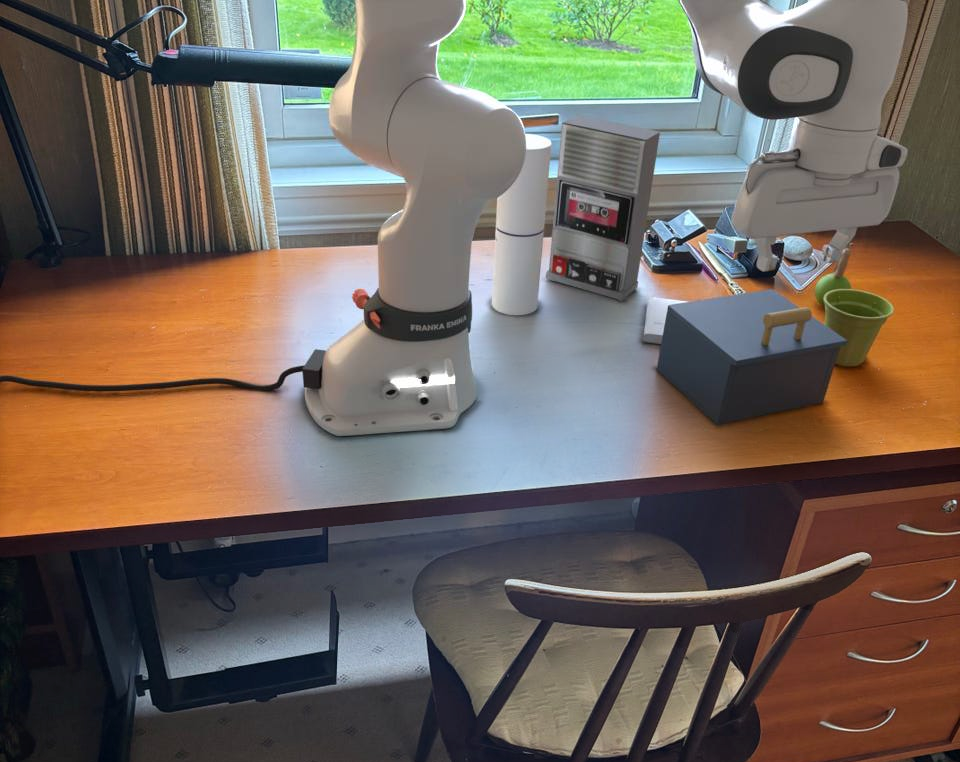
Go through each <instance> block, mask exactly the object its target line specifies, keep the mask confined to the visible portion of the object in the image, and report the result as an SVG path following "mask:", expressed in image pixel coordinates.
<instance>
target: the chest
mask: <svg viewBox="0 0 960 762" xmlns="http://www.w3.org/2000/svg"><path fill="white" fill-rule="evenodd" d="M839 351H840V347H837V348H832V349H826V350H821V351H816V352H810V353H805V354H799V355H794V356H789V357H783V358H778V359H772V360H767V361H762V362H756V363H751V364H746V365H740V366H734V365H733V364H732V363H730V362H729V361H728V360H727V359H725V358H724V357H723V356H722V355H721V354H719V353H718V352H717V351H716V350H715V349H713V348H712V347H711V346H710V345H709V344H707V343H706V342H705V341H704V340H703V339H701V338H700V337H699V336H698V335H696V334H695V333H694V332H693V331H692V330H690V329H689V328H688V327H687V326H686V325H684V324H683V323H682V322H681V321H680V320H678V319H677V318H676V317H675V316H674V315H672V314H671V313H670V312H669V311H667V314H666V320H665V325H664V331H663V336H662V342H661V344H660V348H659V353H658V359H657V363H656V370H657V371H658V372H659V373H660V374H661V375H662V376H663V377H664V378H666V379H667V381H669V382H670V383H671V384H672V385H673V386H674V387H675V388H676V389H677V390H679V391H680V392H681V393H682V394H683V395H684V396H685V397H686V398H687V399H688V400H689V401H690V402H692V403H693V405H694V406H696V407H697V408H698V409H699V410H700V411H701V412H702V413H704V415H706V416H707V417H708V419H710V420H711V421H712V422H713V423H714V424H715V425H723V424H728V423H733V422H737V421H742V420H747V419H752V418H756V417H762V416H766V415H771V414H775V413H780V412H784V411H785V412H786V411H791V410H794V409H800V408H804V407H809V406H814V405H819V404H823V403H824V401H825V398H826V395H827V392H828V390H829V389H828V388H829V385H830V382H831V379H832V376H833V372H834V370H835V366H836V360H837V357H838V354H839Z"/></svg>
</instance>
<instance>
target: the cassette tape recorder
mask: <svg viewBox="0 0 960 762" xmlns="http://www.w3.org/2000/svg"><path fill="white" fill-rule="evenodd" d="M560 131H561V133H560V143H559V153H558V154H559V155H558V165H557V177H556V187H555V199H554V207H553V208H554V211H553V221H552V231H551V244H550V254H549V265H548V270H547V271H546V272H545V279H546V280H549V281H551V282H557V283H560V284H564V285H567V286H571V287H575V288H578V289H581V290H584V291H588V292H592V293H595V294H598V295H602V296H606V297H609V298H613V299H617V300H618V301H620V302H621V301H624V300H625V299H626V298H627V297H629V296H630V295H631V294H632V293H633V292H634V291H635V290H637V288H638V286H639V281H638V278H639V272H640V265H641V259H642V253H643V245H644V240H645V233H646V227H647V219H648V213H649V207H650V200H651V195H652V188H653V181H654V176H655V175H654V174H655V168H656V162H657V154H658V148H659V143H660V136H661V131H658V130H653V129H648V128H644V127H639V126H634V125H629V124H624V123H620V122H614V121H610V120H604V119H601V118H600V119H599V118H595V117H589V116H585V115H580V114H577V115H575V116H572V117H571V118H569V119H566V120H564V121H562V123H561V130H560Z"/></svg>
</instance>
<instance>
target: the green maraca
mask: <svg viewBox="0 0 960 762" xmlns="http://www.w3.org/2000/svg"><path fill="white" fill-rule="evenodd" d="M852 247H854V243H853V242H849V243H848V244H847V246H846V247H845V248H844V249H843V250H842V253H841V256H840V260H839V261H838V262H835V266H834V267H833V272H832V273H828V274H825V275H823V276H822V277H820V279H819V280H818V281H816V284H815V287H814V297H815V300H816V301H817V303H818V304H819V305H820V306H822V307H824V308H825V303H824V295H825V294H826V293H827V292H830V291H832V290H837V289H852V285H851V282H850V280H849V279H848V278H847V277H846V276H845V271H846V269H847V267H848V264H849V260H850V256H851V254H852V250H851V249H852Z"/></svg>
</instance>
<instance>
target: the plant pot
mask: <svg viewBox="0 0 960 762" xmlns="http://www.w3.org/2000/svg"><path fill="white" fill-rule="evenodd" d="M824 303H825V307H824V313H825V315H824V316H825V317H824V323H823V324H824V325H825V326H827V327H828V328H830V329H831V330H833V331H834V332H836V333H837V334H839V335H840V336H842V337H843V338H844V339H846V340H847V344H846V346H842V347H840V351H839V354H838V357H837V360H836V363H835V365H837V366H840V367H841V366H842V367H857V366H860V364H863V363H864V362H865V360H866V358H867V356H868V354H869V353H870V350H871V348H872V346H873V344H874V343H875V340H876V338H877V336H878V334H879V332H880V331H881V328H882V326H883V325H884V324H885V323H886V322H887V320H888V318H889V317H891V316H892V315H893V314H894V311H895V307H894V306H893V304H892V303H891V302H890V301H888V299H886V298H884V297H882V296H880V295H879V294H875V293H873V292H869V291H864V290H860V289H852V288H851V289H837V290H832V291H830V292H827V293H826V294H825V295H824Z"/></svg>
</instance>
